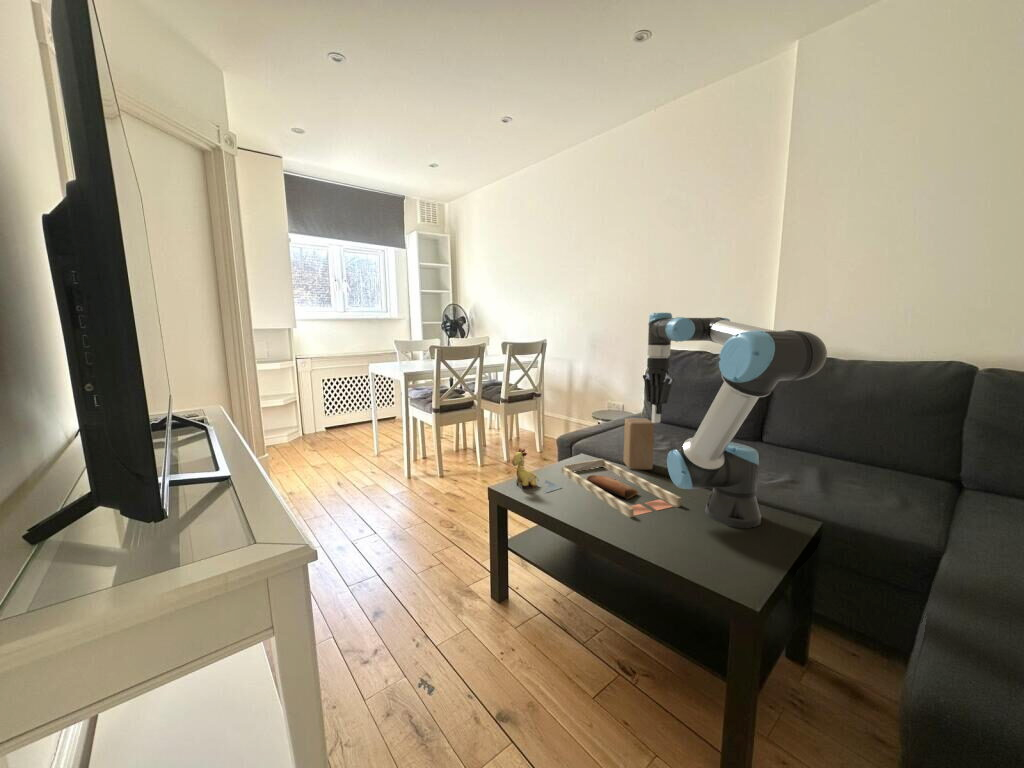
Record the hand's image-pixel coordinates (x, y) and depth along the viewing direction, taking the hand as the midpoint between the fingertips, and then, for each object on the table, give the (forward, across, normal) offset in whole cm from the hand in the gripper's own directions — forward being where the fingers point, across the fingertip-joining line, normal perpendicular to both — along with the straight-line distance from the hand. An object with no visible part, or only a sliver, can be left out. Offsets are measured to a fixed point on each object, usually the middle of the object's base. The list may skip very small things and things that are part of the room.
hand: (655, 422), depth 145 cm
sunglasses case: (+25, +4, +14) cm, 29 cm away
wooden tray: (+24, +4, +14) cm, 28 cm away
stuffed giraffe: (+25, +17, +42) cm, 52 cm away
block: (+25, +20, -10) cm, 33 cm away
